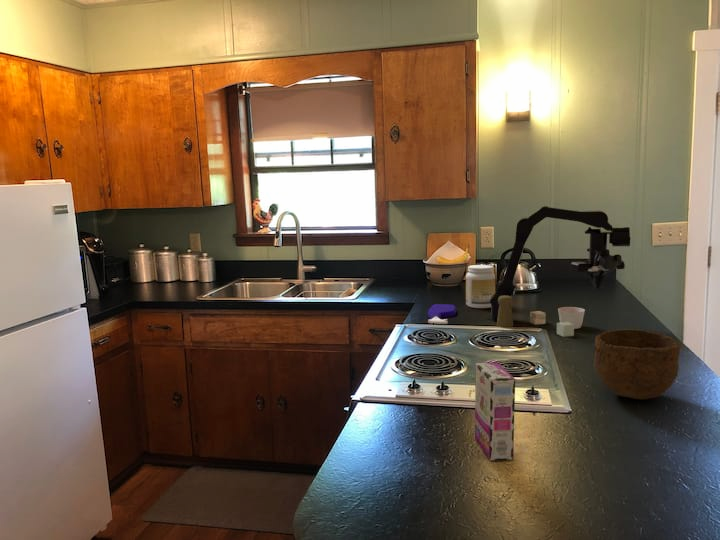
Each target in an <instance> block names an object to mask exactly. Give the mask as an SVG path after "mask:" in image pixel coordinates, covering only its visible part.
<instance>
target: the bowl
mask: <svg viewBox="0 0 720 540" xmlns="http://www.w3.org/2000/svg"><path fill="white" fill-rule="evenodd" d="M681 347H682V344H681V343H680V342H678V341H677V340H675V339H674V338H672V337H671V336H668V335H665V334H662V333H657V332H652V331H647V330H643V329H636V328H635V329H633V328H632V329H631V328H620V329H619V328H617V329H612V330H607V331H604V332H602V333H600V334H597V335H596V336H595V339H594V361H593V368H594V371H595V373H596V374H597V377H598V378H599V379H600V381H601V383H603V384H604V385H603V386H605V387H606V388H607V390H609V391H610V392H612V393H613V394H616V395H617V396H619V397H625V398H630V399H634V400H640V401H641V400H649V399H652V398H653V399H654V398H657V397H659V396H661V395H662V394H663V395H664V393H666V391H668V390H669V389H670V388H671V387H672V385H673V384H674V382H675V380H676V379H677V377H678V372H679V358H680V356H679V355H680V351H681Z"/></svg>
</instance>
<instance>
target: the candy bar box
mask: <svg viewBox="0 0 720 540" xmlns="http://www.w3.org/2000/svg"><path fill="white" fill-rule="evenodd" d="M474 387H475V389H474V390H475V391H474V392H475V393H474V394H475V395H474V398H475V400H474V403H475V405H474V438H475V440H476V442H477V443H478V444H479V446H480V447H481V449H482V451H483V453H484V454H485V455H486V457H487V458H488V460H489V462H497V461H498V462H503V461H504V462H505V461H506V462H507V461H513V460H514V445H515V444H514V439H515V438H514V437H515V433H514V432H515V407H516V406H515V405H516V404H515V402H516V401H515V400H516V399H515V398H516V378H515V377H514V376H513V375H512V374H510V373H509V371H507V369H505V368H504V367H503V366H502V365H501V364H499V362H494V361H493V362H476V363H475V386H474Z"/></svg>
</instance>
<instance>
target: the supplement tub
mask: <svg viewBox="0 0 720 540" xmlns="http://www.w3.org/2000/svg"><path fill="white" fill-rule="evenodd" d="M467 271H468V272H466V275H465V305H466V306H467V307H469V308H474V309H488V308H491V302H490V299H491V298H492V296H493V295H494V294H495V293H496V274H495V273H494V272H493V271H494V266H493V265H489V264H474V265H468V266H467Z"/></svg>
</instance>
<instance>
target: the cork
mask: <svg viewBox="0 0 720 540" xmlns="http://www.w3.org/2000/svg"><path fill="white" fill-rule="evenodd" d="M513 301H514V300H513V296H506V295H504V296H500V297H499V298H498V303H499V312H498V319H497V321H496V326H497V327H499V326H501V327H500V328H512V327H514V320H513V311H512V304H513Z"/></svg>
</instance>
